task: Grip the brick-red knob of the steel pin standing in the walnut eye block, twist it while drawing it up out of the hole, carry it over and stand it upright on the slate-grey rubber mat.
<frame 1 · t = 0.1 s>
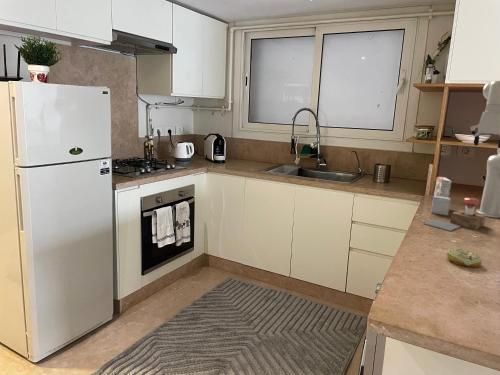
hand: (487, 146, 176), 37 cm above the countertop, tool pointing down, fingers open, 9 cm apart
decorated donut: (462, 263, 133), on the countertop
medicine box: (439, 214, 196), on the countertop
candy bar box: (439, 208, 208), on the countertop
rubber mat: (442, 225, 175), on the countertop
eye block: (466, 224, 179), on the countertop
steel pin: (469, 211, 178), in the eye block
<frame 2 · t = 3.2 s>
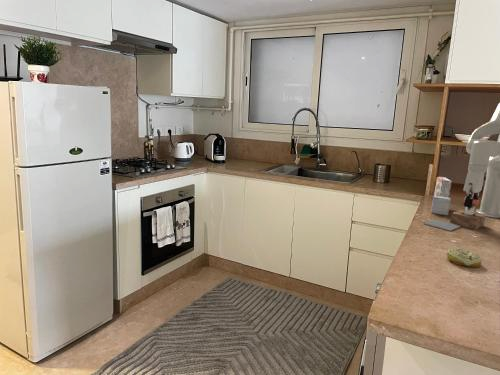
hand: (470, 205, 177), 9 cm above the countertop, tool pointing down, fingers closed on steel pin, 6 cm apart
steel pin: (469, 211, 178), in the eye block, touching gripper
everything else where it was.
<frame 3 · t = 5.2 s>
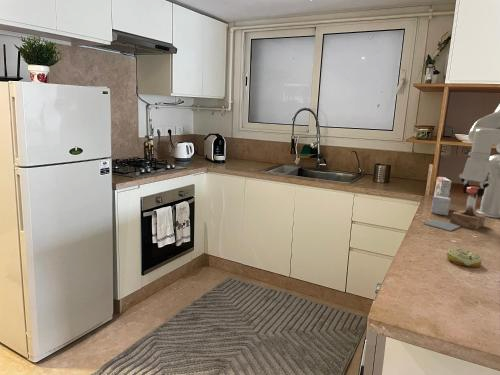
hand: (472, 194, 176), 15 cm above the countertop, tool pointing down, fingers closed on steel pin, 6 cm apart
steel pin: (471, 200, 177), point 12 cm above the countertop, touching gripper
everything else where it was.
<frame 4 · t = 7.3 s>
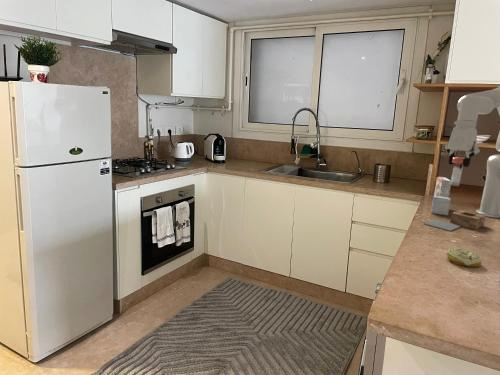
hand: (458, 165, 170), 28 cm above the countertop, tool pointing down, fingers closed on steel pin, 6 cm apart
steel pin: (457, 171, 170), point 25 cm above the countertop, touching gripper
everything else where it was.
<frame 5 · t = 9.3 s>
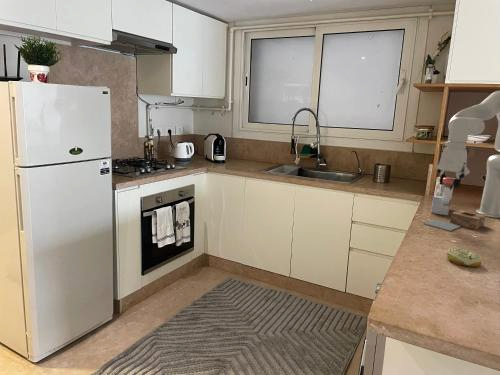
hand: (449, 185, 171), 19 cm above the countertop, tool pointing down, fingers closed on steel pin, 6 cm apart
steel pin: (447, 191, 171), point 16 cm above the countertop, touching gripper
everything else where it was.
when the fingers open (11 cm above the countertop, at t = 11.3 s): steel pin stays where it is, resting on rubber mat.
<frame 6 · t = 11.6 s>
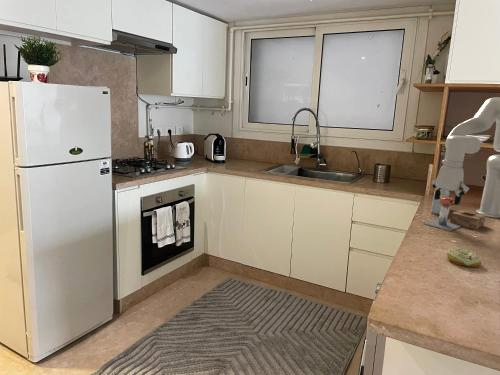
hand: (446, 201, 173), 11 cm above the countertop, tool pointing down, fingers open, 9 cm apart
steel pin: (444, 211, 174), on the rubber mat
everything else where it was.
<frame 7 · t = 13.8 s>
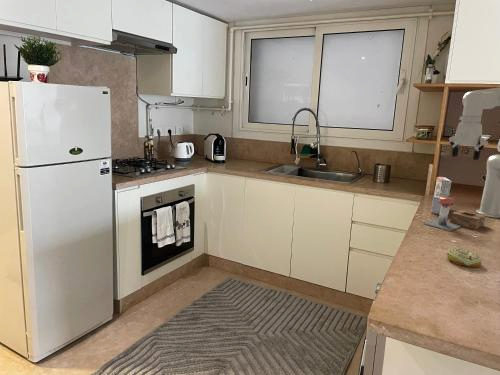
hand: (465, 157, 174), 31 cm above the countertop, tool pointing down, fingers open, 9 cm apart
nothing on the countertop moved.
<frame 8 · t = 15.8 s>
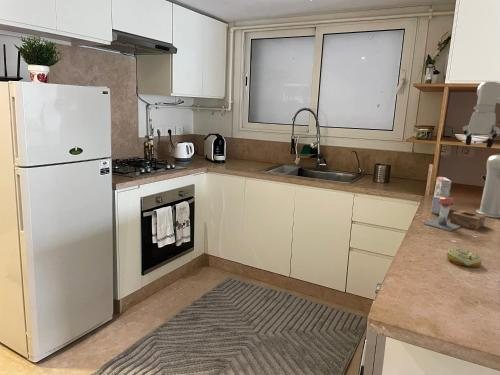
hand: (478, 146, 180), 36 cm above the countertop, tool pointing down, fingers open, 9 cm apart
nothing on the countertop moved.
at the end: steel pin inside the target area on the rubber mat (0.1 cm from its centre), point 6.7 cm above the rubber mat's base; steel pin tilted 1°; the gripper is holding nothing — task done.
